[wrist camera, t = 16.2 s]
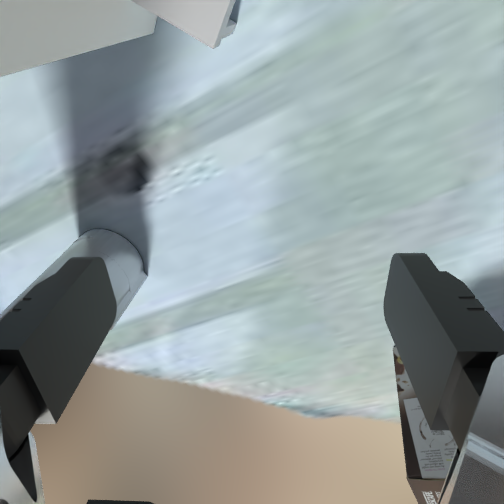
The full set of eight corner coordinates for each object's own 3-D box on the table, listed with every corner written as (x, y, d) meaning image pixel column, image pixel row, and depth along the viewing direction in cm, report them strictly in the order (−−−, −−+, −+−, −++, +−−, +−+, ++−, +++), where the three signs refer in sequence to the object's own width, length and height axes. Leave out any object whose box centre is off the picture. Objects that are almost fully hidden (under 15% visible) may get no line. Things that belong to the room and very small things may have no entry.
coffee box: (390, 346, 47) (405, 478, 35) (444, 340, 45) (481, 481, 32) (404, 386, 52) (421, 517, 39) (453, 383, 49) (489, 522, 37)
